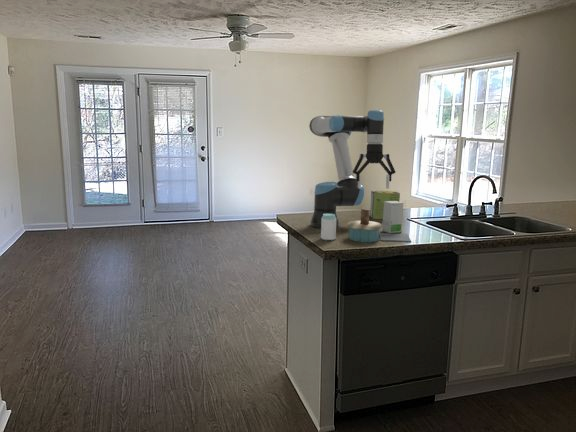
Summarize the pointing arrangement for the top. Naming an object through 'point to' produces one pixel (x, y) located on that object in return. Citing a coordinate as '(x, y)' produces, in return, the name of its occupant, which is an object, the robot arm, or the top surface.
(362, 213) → the lid
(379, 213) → the protein box
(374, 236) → the bowl
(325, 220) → the can
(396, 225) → the skincare box
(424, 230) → the top surface
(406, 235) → the mat
